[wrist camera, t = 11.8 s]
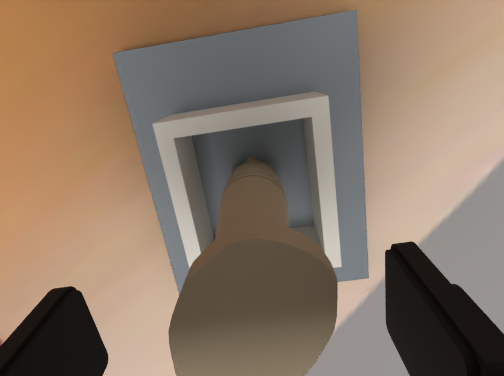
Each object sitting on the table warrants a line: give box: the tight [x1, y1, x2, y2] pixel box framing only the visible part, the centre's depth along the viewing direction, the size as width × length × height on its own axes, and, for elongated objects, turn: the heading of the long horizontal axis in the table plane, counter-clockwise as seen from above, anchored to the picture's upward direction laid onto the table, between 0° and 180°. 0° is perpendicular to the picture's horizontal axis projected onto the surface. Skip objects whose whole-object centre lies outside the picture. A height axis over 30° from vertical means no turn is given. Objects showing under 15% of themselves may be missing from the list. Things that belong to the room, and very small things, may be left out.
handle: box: [169, 157, 337, 376], centre depth 17 cm, size 5×6×15 cm
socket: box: [112, 10, 369, 295], centre depth 23 cm, size 20×16×6 cm
